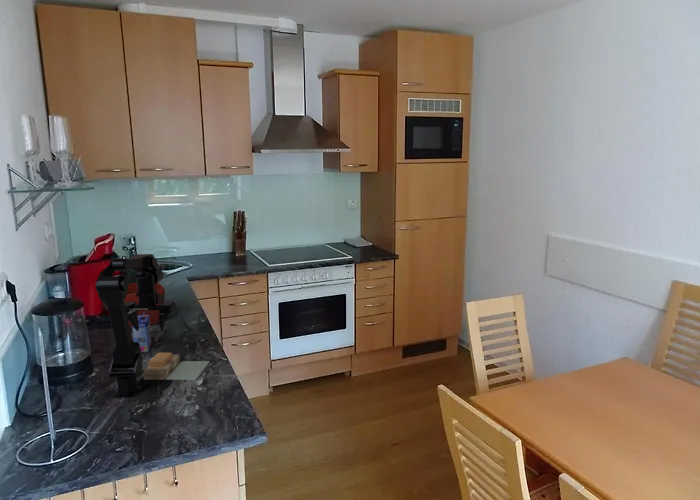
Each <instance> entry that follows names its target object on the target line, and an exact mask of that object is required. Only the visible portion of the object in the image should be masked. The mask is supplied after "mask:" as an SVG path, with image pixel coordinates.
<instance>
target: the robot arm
mask: <svg viewBox="0 0 700 500" xmlns="http://www.w3.org/2000/svg"><path fill="white" fill-rule="evenodd" d="M130 270H132V271H135V272H137V273H136V275H135V276H134V279H135V280H136V283H137V290H138V293H136V296H138V300H139V304H138V305H137V303H136V302H126V303H125V302H124V300H125V297H126V295H127V293H128V287H129V284H131V281H132V278H131V276H130V273H129V272H130ZM115 272H125V273H124V275H114V274H115ZM98 274H99V275H98V277H97V279H96V281H95V290H96V293H97V295H98V298H99V300H101V302H103V303H104V304H105V305H106V307H107V311H108V315H109V320H110V325H111V328H112V335H113V337H114V343H115V348H114V350H113V352H112V354H111V357H112V358H111V362H110V366H109V369H108V370H109V371H108V375H109V378H110V379H111V378H116V385H117V391H116V392H115V393H114V395H113V397H114V398H124V397H125V398H127V397H128V398H132V397H135V396H136V395H137V394H138V393H139V391H141V390H142V389H143V386H142V385H138V376H139V375H140V374H141V373H142V372H143V363H144V362H143V360H144V359H143V357H144V356H143V354H142V352H141V350H140V344H139V343H138V342H134V340H133V336H132V333H131V329H130V327H129V322H128V320H129V321H130V322H131V323H132V325H133V327H134V328H135V330H136V331H138V330H139V324H138V316H137V315H138V310H159V312H160V314H159V327H160V331H161V332H163V331H164V330H165V326H166V323H167V320H168V316H169V315H170V314H172V313H173V312H174V311H176V310H177V304H176V303H175V302H174V301H170V302H169V301H164V303H163V294H157V290H155V284H156V283H160V282H161V281H162V280H163V279H164V274H165V273H164V272H163V270H162V269H161V267H160V266H159V263H158V261H157V258H156V257H155V256H154V254H152V253H141V254H140V253H138V254H137V253H136V254H133V255H131V256H130V257H127V258H124V257H123V258H118V257H117V258H112V259H111V260H110V262H109V264H108V266H106V267H105V268H104V269H102V270H101V271H100V273H98ZM158 303H163V304H161V305H156V304H158ZM151 307H153V308H151Z"/></svg>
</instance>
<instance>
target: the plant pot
mask: <svg viewBox="0 0 700 500" xmlns="http://www.w3.org/2000/svg"><path fill="white" fill-rule="evenodd" d="M155 290H157V294H163V303H164V302H165V294H166V293H165V292H166V291H165V290H166V289H165V287H164V286H163V285H161V284H160V282H158V283H156V284H155ZM136 293H138V290H137V282H134V283H130V284H129V287H128V293H127V295H126V297H125V300H124V302H125V303H126V302H136V303H137V305H138V304H139V300H138V296H136ZM163 303H158V304H156V305H161V304H163ZM151 308H153V307H151ZM144 312H145V313H144ZM143 313H144V315H149V316H150V327H151V326H155V325H160V322H159V314H160V312H159V310H138V315H137V316H139V315H143ZM128 322H129V327H130V330H133V328H132V323H131V322H130V321H129V320H128Z"/></svg>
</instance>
